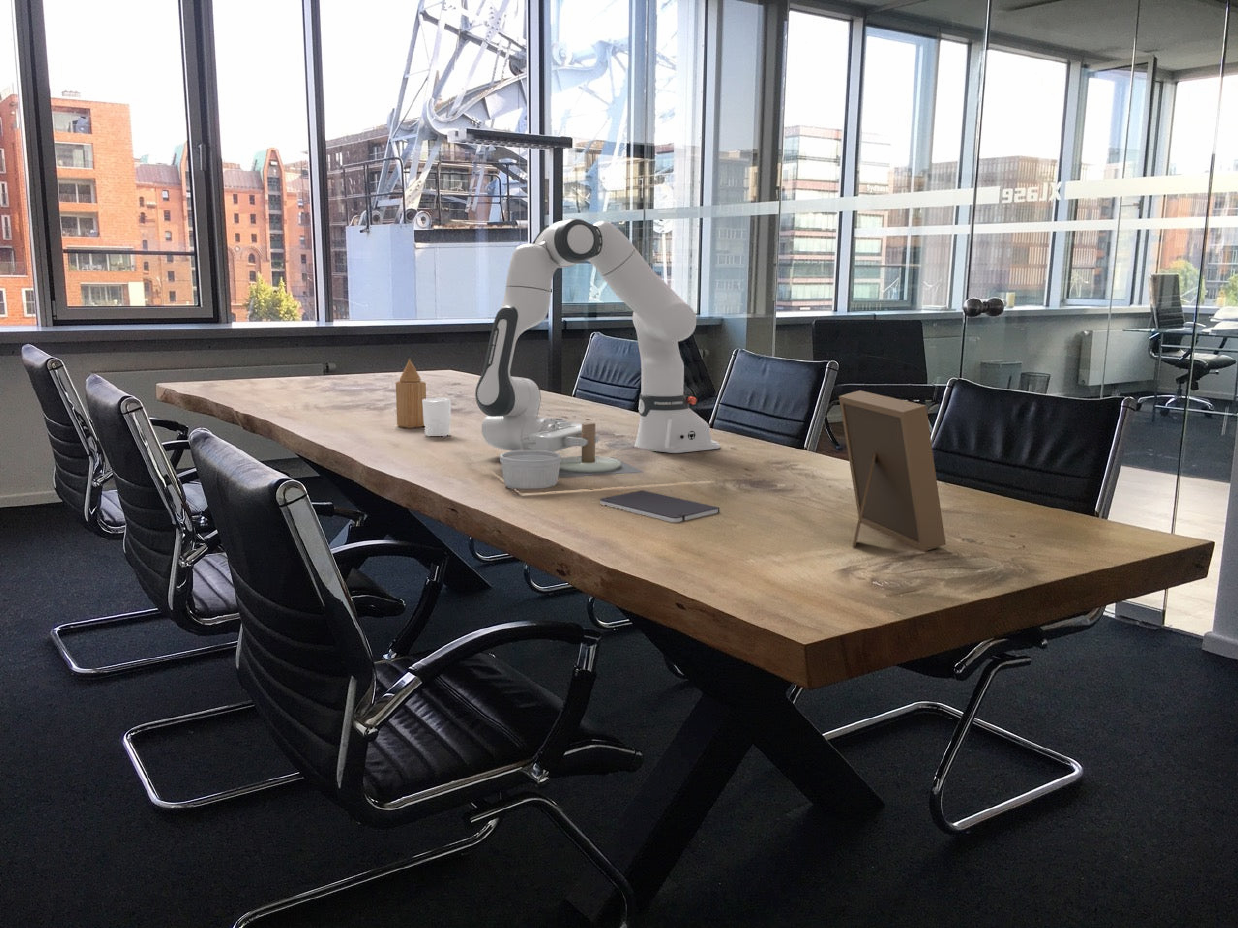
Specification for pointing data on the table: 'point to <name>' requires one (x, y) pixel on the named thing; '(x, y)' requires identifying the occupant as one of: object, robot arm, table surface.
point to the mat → (623, 469)
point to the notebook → (659, 506)
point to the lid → (589, 456)
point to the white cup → (436, 416)
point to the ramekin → (530, 468)
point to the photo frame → (893, 468)
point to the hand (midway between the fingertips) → (591, 440)
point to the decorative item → (410, 398)
